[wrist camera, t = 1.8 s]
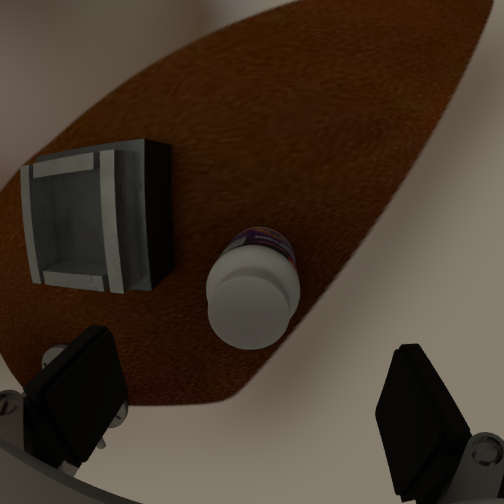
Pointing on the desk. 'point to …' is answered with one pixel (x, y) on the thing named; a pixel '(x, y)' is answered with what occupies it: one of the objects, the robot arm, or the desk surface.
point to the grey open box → (100, 216)
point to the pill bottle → (253, 289)
